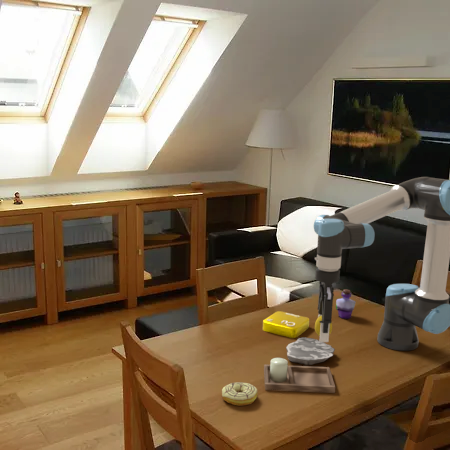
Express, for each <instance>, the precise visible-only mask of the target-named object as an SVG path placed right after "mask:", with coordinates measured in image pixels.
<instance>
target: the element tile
mask: <svg viewBox="0 0 450 450" xmlns="http://www.w3.org/2000/svg"><path fill="white" fill-rule="evenodd" d="M309 326H310V318H309V317H308V316H304V315H303V316H302V315H298V314H293V313H289V312H286V311H281V310H278V311H275V312H273V314H271V315H269V316H268V317H266V318H265V319H263V320H262V331H264V332H266V333H270V334H274V335H278V336H282V337H286V338H290V339H295V338H299V336H300V335H302V334H303V333H304V332H306V331H307V330H308V329H309Z"/></svg>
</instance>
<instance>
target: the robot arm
mask: <svg viewBox="0 0 450 450" xmlns="http://www.w3.org/2000/svg"><path fill="white" fill-rule="evenodd" d="M409 209H418V210H419V209H420V210H423V211H424V212H423V213H424V214H423V218H424V220H425V221H426V222H427V227H426V236H425V242H424V243H425V244H424V249H423V250H424V252H423V259H422V260H423V261H422V270H421V274H420V284H419V286H418V285H417V284H416V285H415V284H410V283H393V284H390V285H388V287H387V288H386V293H385V301H384V313H383V322H382V325H381V327H380V328H379V331H378V333H377V337H376V338H377V342H378V345H381V346H383V347H384V348H386V349H391V350H394V351H404V352H406V351H414V350H415V349H417V348H419V341H420V339H419V337H418V331H417V328H419V329H422V330H423V331H425V332H429V333H431V334H435V335H438V334H442V333H444V332H445V331H446V330H448V328H450V303H449V301H450V295H449V294H448V292H447V291H446V288H447V281H448V275H449V274H448V273H449V267H450V266H449V265H450V179H444V178H435V177H432V176H431V177H430V176H421V177H419V176H418V177H415V178H412V179H409V180H406V181H403V182H401V183H399V184H396V185H393V186H391V188H390V190H389V191H387V192H384V193H382V194H378V195H376V196H375V197H371V198H370V199H368V200H365V201H363V202H360V203H357V204H356V205H353V206H351V207H348V208H347V209H344V210H342V211H340V212H337V213H335V214H332V215H329V214H321V215H318V216H317V217H316V218H315V220H314V223H313V230H314V233H315V234H316V235H317V249H316V257H315V256H314V260H315V261H316V263H315V264H316V265H315V267H316V268H315V273H314V275H315V277H314V278H315V280H316V281H318V284H319V287H318V288H319V290H318V300H317V313H318V315H317V318H318V317H320V316H322V321H320V323H321V328H320V336H319V341H320V342H324V343H329V340H330V339H329V338H330V335H329V328H330V323H331V322H332V318H333V316H332V315H333V306H334V305H333V302H334V296H335V293H334V292H335V291H334V290H335V288H334V287H333V284H334V283H335V284H336V283H338V282H339V281H340V278H341V277H340V274H341V270H340V269H341V266H342V253H343V250H347V249H356V248H357V249H358V248H361V249H362V248H365V247H369V246H371V245H372V244H374V241H375V234H376V233H375V230H374V227H373V226H372V225H371V223H372V222H373V223H374V221H377V220H379V219H382V218H384V217H387V216H388V215H389V216H390V214H393V213H395V212H397V211H398V212H399V211H401V212H405V211H407V210H409ZM332 323H333V322H332ZM416 327H417V328H416Z"/></svg>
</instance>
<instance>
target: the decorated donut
mask: <svg viewBox="0 0 450 450" xmlns="http://www.w3.org/2000/svg"><path fill="white" fill-rule="evenodd" d="M221 397H222V399H223V401H225V402H227V403H228V404H232V405H234V406H238V407H240V406H247V405H251V404H252V403H254V402H255V400H256V399H257V397H258V389H257V387H256V386H254V385H253V384H251V383H250V382H248V383H247V382H241V381H240V382H239V381H238V382H231V383H228V384H226V385H225V386H223V388H222V389H221Z"/></svg>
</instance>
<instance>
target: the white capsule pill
mask: <svg viewBox="0 0 450 450" xmlns="http://www.w3.org/2000/svg"><path fill="white" fill-rule="evenodd" d="M288 364H289V363H288V359H285V358H282V357H273V358H272V359H270V364H269V365H270V380H272V381H274V382H279V383H280V382H285V381H286V380H287V368H288V366H289V365H288Z"/></svg>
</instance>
